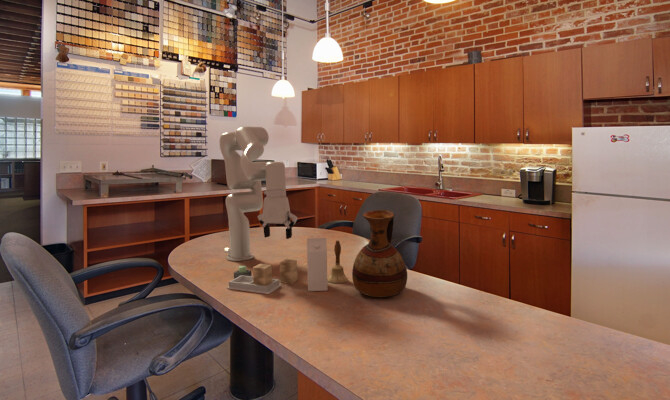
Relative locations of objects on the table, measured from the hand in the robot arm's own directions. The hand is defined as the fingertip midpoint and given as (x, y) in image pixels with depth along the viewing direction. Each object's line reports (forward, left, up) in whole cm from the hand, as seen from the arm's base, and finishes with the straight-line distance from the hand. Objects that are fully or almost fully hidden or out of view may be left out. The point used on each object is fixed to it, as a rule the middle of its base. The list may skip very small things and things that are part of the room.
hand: (277, 237), depth 155 cm
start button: (-15, -2, -17) cm, 23 cm away
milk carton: (+18, -3, -18) cm, 25 cm away
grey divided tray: (-5, -10, -18) cm, 21 cm away
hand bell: (+22, +8, -18) cm, 29 cm away
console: (-15, -2, -18) cm, 23 cm away
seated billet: (-1, -10, -18) cm, 20 cm away
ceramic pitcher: (+41, +1, -18) cm, 44 cm away
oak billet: (+4, +1, -18) cm, 18 cm away
